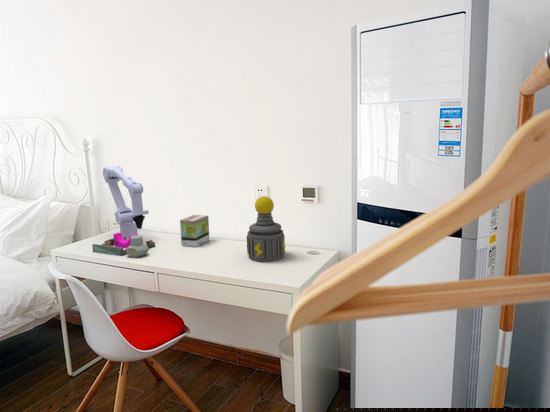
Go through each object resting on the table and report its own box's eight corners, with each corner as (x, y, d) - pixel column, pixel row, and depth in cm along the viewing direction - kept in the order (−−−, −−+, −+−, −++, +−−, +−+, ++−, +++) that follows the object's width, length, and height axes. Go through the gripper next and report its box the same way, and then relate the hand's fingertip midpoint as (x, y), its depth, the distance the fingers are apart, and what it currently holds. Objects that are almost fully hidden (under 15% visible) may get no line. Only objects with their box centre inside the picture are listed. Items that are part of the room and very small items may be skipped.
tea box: (197, 247, 231) (195, 220, 228) (181, 246, 234) (179, 219, 231) (210, 240, 245) (208, 214, 242) (194, 239, 248) (192, 214, 245)
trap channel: (120, 240, 251) (119, 233, 250) (158, 245, 238) (158, 238, 237) (87, 250, 231) (87, 243, 230) (127, 256, 218) (127, 249, 217)
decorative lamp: (277, 263, 199) (275, 200, 193) (240, 260, 205) (237, 199, 200) (290, 252, 216) (288, 193, 210) (256, 249, 222) (253, 192, 217)
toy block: (142, 247, 236) (141, 233, 235) (134, 250, 231) (133, 236, 229) (123, 244, 243) (122, 231, 242) (114, 247, 238) (113, 234, 236)
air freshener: (124, 257, 218) (122, 238, 216) (134, 252, 225) (133, 234, 224) (141, 258, 214) (139, 239, 212) (151, 254, 221) (150, 235, 220)
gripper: (132, 207, 234) (135, 232, 236) (151, 203, 246) (153, 226, 249) (123, 207, 237) (126, 231, 239) (142, 202, 249) (144, 225, 252)
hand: (139, 228), depth 244 cm, fingers closed
